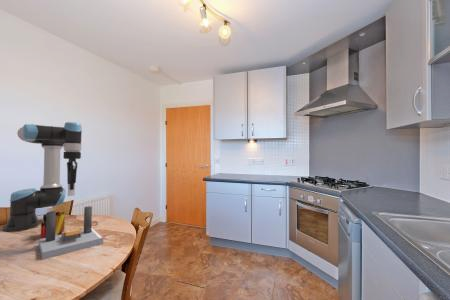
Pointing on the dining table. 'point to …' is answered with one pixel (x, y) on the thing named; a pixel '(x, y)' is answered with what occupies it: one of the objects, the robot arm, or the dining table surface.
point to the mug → (58, 226)
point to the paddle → (72, 232)
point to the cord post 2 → (87, 219)
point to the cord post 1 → (50, 226)
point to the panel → (69, 243)
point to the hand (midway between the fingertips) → (71, 195)
